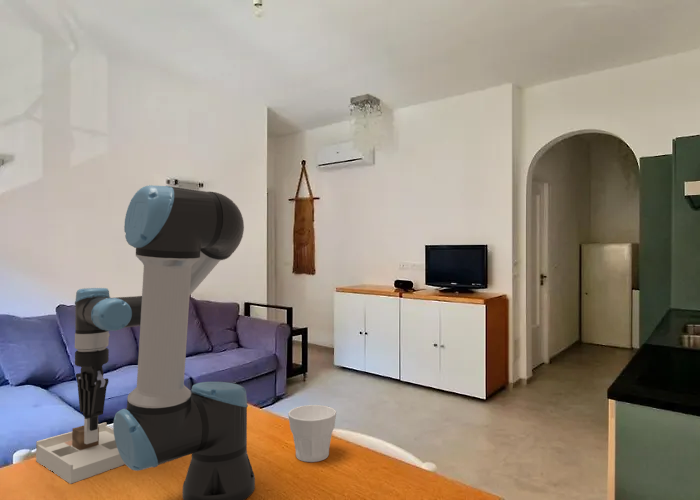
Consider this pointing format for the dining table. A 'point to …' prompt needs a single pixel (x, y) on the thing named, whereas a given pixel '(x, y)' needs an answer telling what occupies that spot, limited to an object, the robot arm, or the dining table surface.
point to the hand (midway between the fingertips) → (91, 441)
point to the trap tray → (79, 455)
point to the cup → (312, 431)
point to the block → (81, 439)
